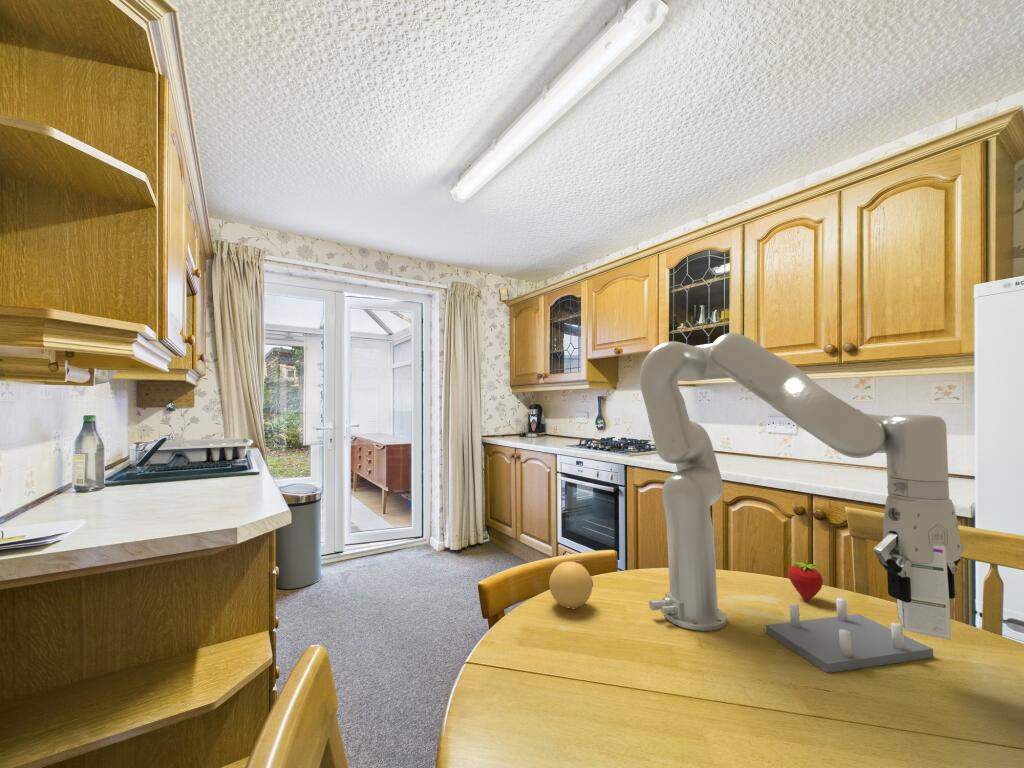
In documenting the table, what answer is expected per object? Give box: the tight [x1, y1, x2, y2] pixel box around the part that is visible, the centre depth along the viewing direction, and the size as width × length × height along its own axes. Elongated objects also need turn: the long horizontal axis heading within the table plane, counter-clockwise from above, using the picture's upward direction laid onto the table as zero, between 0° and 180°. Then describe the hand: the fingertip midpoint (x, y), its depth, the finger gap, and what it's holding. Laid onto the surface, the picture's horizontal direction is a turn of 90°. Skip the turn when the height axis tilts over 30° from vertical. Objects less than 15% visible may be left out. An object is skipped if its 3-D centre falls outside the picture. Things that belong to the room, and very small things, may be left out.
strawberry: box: [787, 556, 824, 602], centre depth 103 cm, size 6×8×10 cm
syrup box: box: [896, 544, 952, 641], centre depth 73 cm, size 6×6×14 cm
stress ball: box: [548, 560, 594, 609], centre depth 102 cm, size 10×10×10 cm
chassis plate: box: [765, 597, 934, 674], centre depth 84 cm, size 22×14×6 cm, turn 100°
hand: (921, 596), depth 72 cm, fingers closed on syrup box, 8 cm apart
